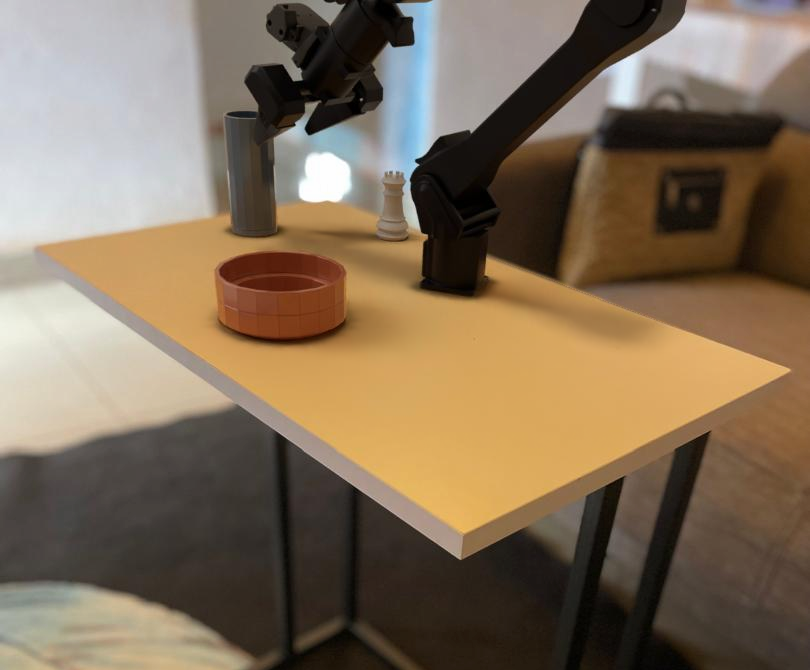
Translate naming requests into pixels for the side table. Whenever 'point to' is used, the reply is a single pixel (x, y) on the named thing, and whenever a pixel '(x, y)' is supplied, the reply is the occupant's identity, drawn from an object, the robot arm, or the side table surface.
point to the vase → (249, 176)
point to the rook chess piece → (393, 209)
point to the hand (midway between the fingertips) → (282, 137)
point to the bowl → (281, 294)
